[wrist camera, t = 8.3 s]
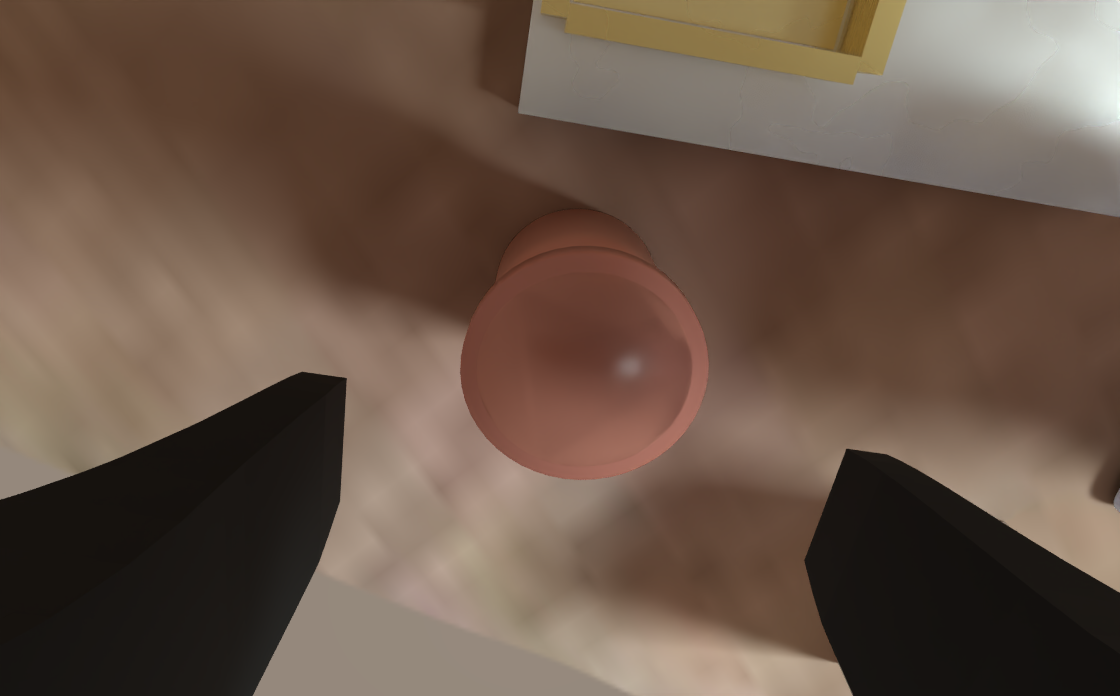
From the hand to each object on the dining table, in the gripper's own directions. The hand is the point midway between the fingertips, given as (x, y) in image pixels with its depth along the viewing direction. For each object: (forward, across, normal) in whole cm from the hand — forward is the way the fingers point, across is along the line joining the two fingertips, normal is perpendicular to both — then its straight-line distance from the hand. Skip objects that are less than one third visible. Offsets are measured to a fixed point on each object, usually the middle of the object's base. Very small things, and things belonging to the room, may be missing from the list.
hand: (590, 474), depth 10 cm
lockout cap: (+8, 0, 0) cm, 8 cm away
